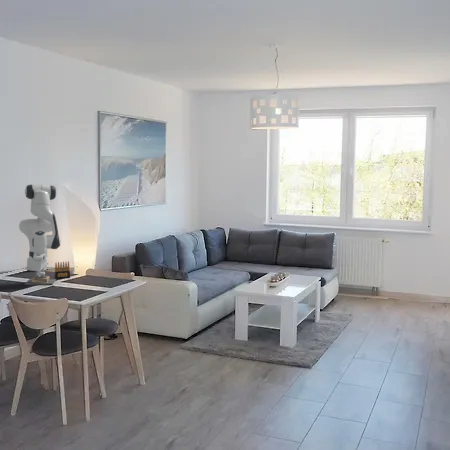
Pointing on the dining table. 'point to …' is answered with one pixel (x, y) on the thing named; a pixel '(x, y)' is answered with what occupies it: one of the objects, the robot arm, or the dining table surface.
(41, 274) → the connector
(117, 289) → the dining table surface
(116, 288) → the dining table surface
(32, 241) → the robot arm
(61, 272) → the ammunition clip
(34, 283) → the end holder
